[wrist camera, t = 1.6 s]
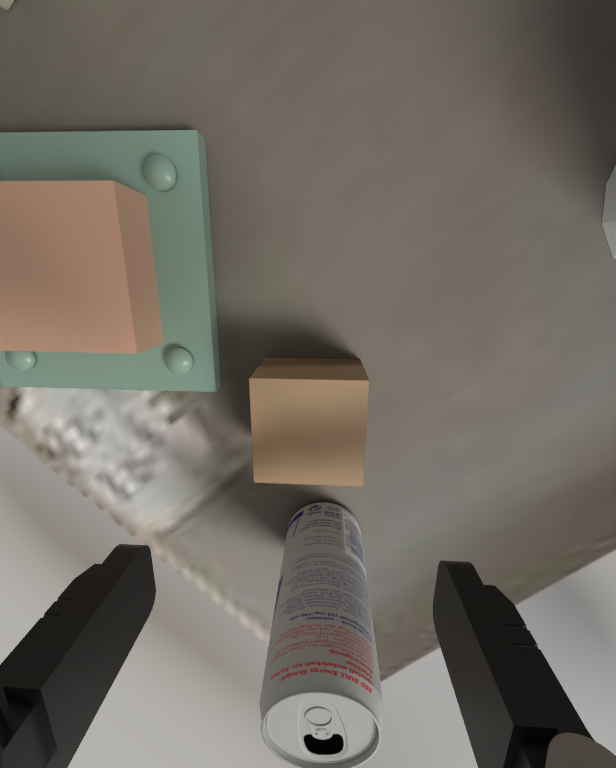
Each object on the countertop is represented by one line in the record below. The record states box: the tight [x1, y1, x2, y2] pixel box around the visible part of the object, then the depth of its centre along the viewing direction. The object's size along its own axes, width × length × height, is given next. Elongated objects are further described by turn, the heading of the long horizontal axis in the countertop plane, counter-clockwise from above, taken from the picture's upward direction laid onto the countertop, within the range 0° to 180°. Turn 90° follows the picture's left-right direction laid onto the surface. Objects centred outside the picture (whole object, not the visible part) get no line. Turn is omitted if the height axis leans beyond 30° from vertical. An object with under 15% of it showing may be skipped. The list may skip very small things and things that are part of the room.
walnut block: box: [249, 358, 369, 486], centre depth 20 cm, size 6×6×5 cm
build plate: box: [0, 130, 221, 392], centre depth 19 cm, size 14×14×4 cm
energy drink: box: [260, 502, 384, 768], centre depth 20 cm, size 5×5×12 cm
